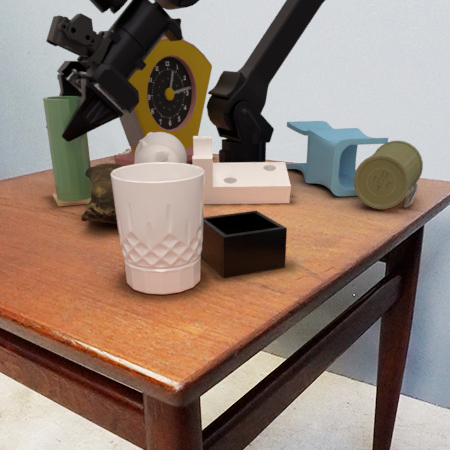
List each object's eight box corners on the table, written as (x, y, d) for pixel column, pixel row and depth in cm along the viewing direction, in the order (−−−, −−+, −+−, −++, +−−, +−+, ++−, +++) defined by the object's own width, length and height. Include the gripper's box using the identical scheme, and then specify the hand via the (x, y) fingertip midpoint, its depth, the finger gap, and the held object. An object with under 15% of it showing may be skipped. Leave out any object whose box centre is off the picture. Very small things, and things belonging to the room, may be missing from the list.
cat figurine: (161, 128, 72) (166, 114, 83) (98, 172, 74) (111, 153, 85) (198, 182, 76) (198, 162, 86) (137, 222, 78) (145, 198, 89)
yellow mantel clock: (138, 175, 89) (127, 29, 80) (102, 168, 94) (88, 30, 85) (222, 155, 105) (221, 31, 95) (187, 150, 110) (183, 31, 101)
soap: (137, 158, 102) (136, 153, 102) (114, 157, 103) (113, 152, 103) (151, 150, 111) (151, 146, 111) (130, 150, 112) (129, 145, 112)
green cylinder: (100, 196, 75) (89, 97, 70) (66, 203, 72) (53, 100, 67) (83, 190, 79) (72, 95, 73) (50, 195, 76) (36, 97, 70)
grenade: (379, 228, 71) (404, 195, 82) (427, 199, 66) (447, 169, 78) (342, 175, 70) (373, 149, 81) (388, 143, 65) (414, 120, 77)
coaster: (91, 193, 79) (91, 190, 79) (99, 202, 75) (98, 198, 74) (53, 197, 77) (52, 193, 77) (58, 206, 73) (57, 203, 72)
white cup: (124, 265, 53) (115, 162, 49) (204, 263, 54) (202, 161, 49) (116, 300, 46) (105, 183, 42) (209, 296, 47) (207, 180, 42)
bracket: (194, 210, 74) (192, 159, 69) (195, 185, 79) (193, 135, 75) (288, 209, 74) (293, 157, 69) (283, 184, 80) (287, 135, 75)
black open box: (255, 246, 58) (256, 210, 56) (285, 267, 53) (287, 227, 51) (199, 255, 56) (198, 217, 54) (223, 278, 50) (223, 237, 49)
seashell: (90, 198, 75) (97, 147, 72) (154, 212, 76) (164, 162, 73) (64, 234, 60) (71, 172, 57) (145, 250, 61) (155, 190, 58)
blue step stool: (330, 197, 76) (284, 169, 94) (381, 194, 78) (326, 167, 95) (335, 139, 73) (286, 121, 90) (388, 137, 74) (330, 120, 92)
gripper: (63, -4, 74) (-7, 85, 74) (103, -17, 59) (15, 95, 59) (123, 58, 81) (59, 140, 81) (173, 61, 66) (94, 161, 66)
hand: (56, 134), depth 71 cm, fingers open, 9 cm apart
